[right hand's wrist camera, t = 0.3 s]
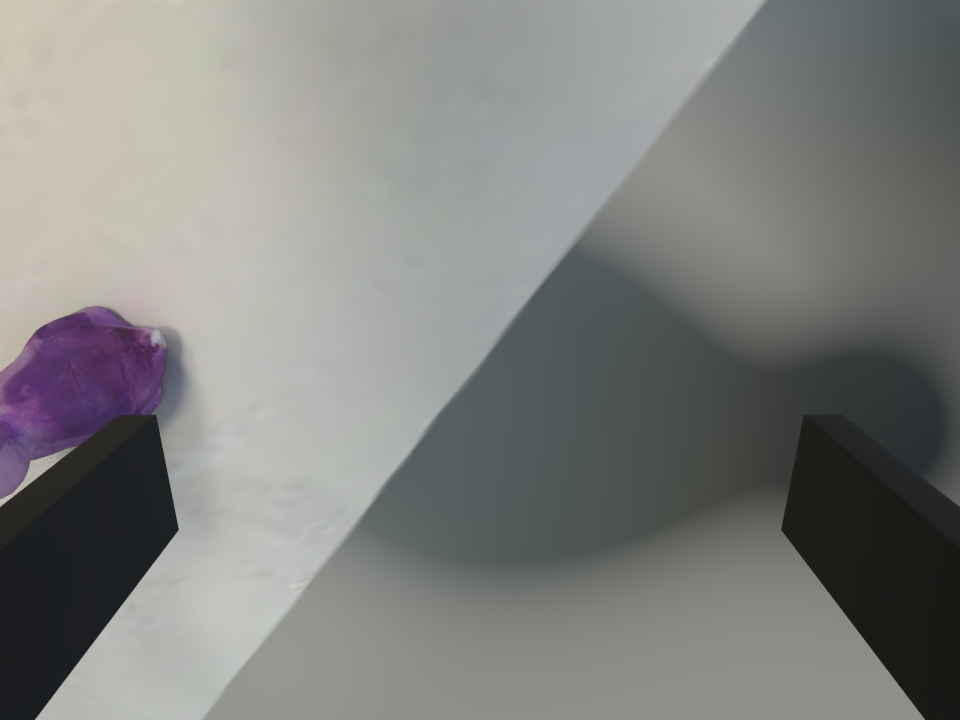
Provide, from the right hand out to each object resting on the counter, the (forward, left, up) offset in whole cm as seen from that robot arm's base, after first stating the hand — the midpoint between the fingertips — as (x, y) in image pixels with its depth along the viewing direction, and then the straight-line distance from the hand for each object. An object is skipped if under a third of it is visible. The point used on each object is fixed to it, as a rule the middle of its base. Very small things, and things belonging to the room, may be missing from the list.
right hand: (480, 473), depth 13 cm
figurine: (+9, -25, -28) cm, 39 cm away
